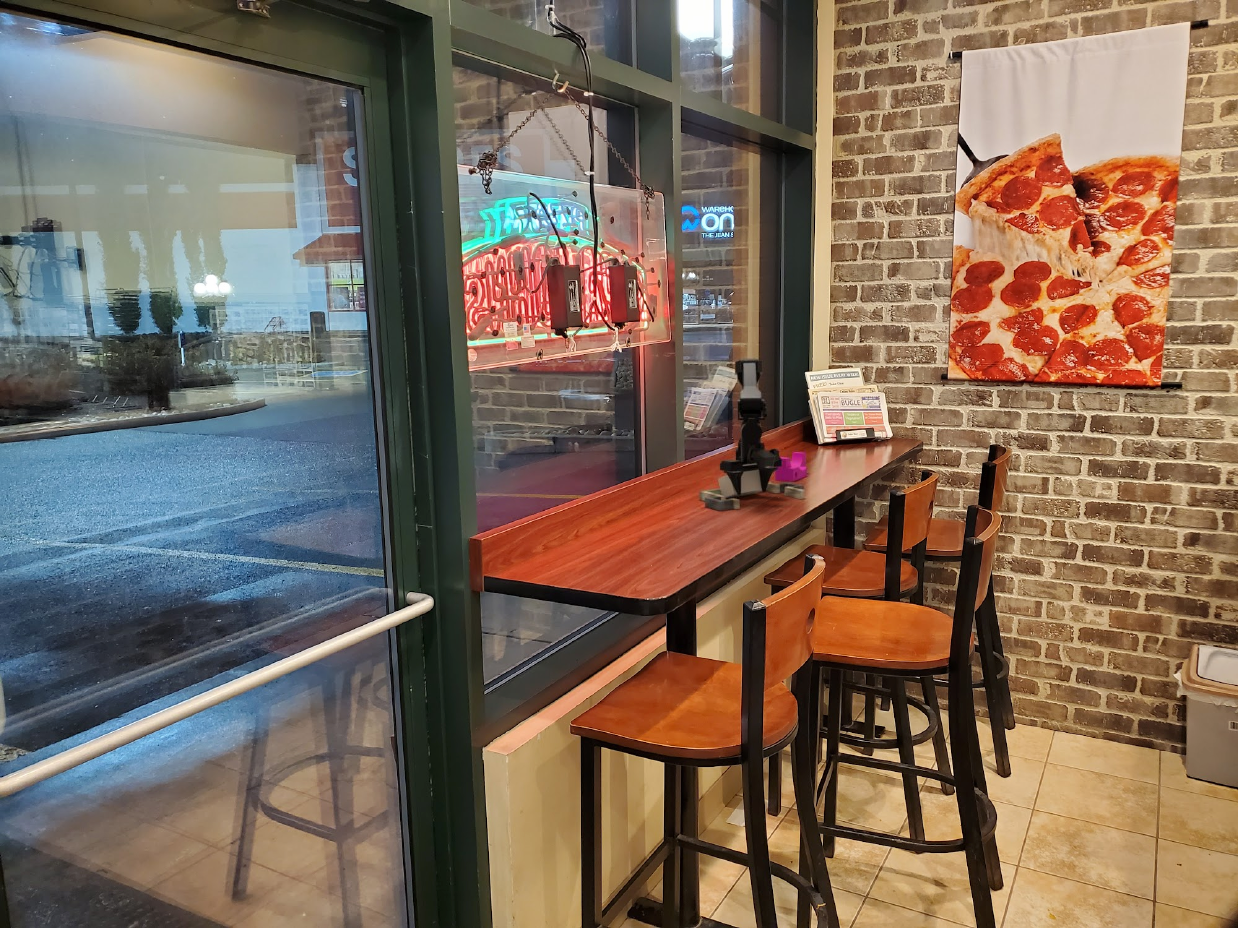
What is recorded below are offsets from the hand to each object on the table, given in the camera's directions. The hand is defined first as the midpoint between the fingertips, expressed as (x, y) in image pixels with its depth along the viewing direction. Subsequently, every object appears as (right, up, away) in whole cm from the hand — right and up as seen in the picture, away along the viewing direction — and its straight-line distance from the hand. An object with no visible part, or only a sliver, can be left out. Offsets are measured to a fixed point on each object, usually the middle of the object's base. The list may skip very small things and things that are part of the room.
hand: (751, 493), depth 269 cm
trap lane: (0, -2, 0) cm, 2 cm away
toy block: (+19, +3, +34) cm, 39 cm away
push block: (-2, 0, +3) cm, 3 cm away
